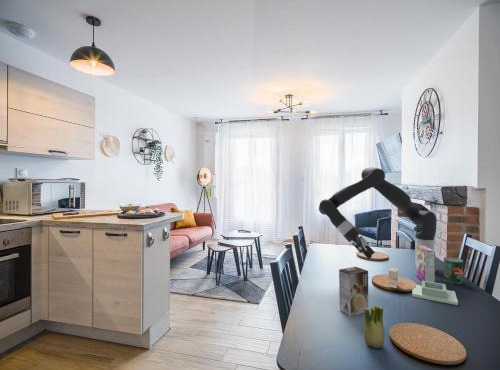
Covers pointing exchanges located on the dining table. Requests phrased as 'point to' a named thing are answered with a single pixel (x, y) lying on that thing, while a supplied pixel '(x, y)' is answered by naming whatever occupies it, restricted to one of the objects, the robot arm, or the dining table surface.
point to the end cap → (435, 292)
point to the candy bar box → (425, 263)
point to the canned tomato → (453, 270)
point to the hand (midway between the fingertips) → (372, 255)
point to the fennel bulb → (374, 327)
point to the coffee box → (353, 290)
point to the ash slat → (393, 276)
